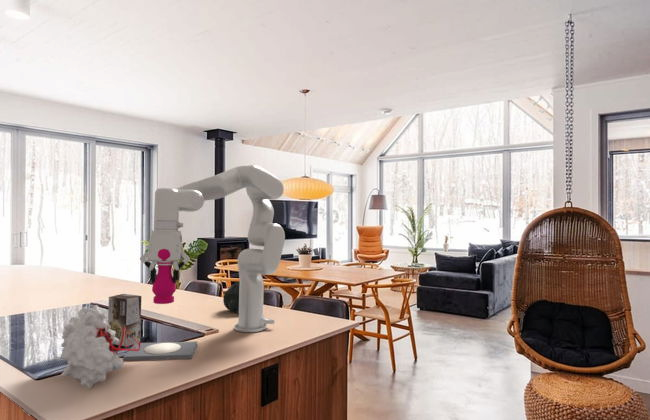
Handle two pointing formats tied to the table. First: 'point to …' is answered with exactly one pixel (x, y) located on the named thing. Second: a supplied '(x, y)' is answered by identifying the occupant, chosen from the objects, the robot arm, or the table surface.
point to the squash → (232, 298)
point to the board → (161, 351)
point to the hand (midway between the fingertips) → (164, 281)
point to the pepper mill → (164, 280)
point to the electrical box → (125, 317)
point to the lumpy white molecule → (91, 347)
